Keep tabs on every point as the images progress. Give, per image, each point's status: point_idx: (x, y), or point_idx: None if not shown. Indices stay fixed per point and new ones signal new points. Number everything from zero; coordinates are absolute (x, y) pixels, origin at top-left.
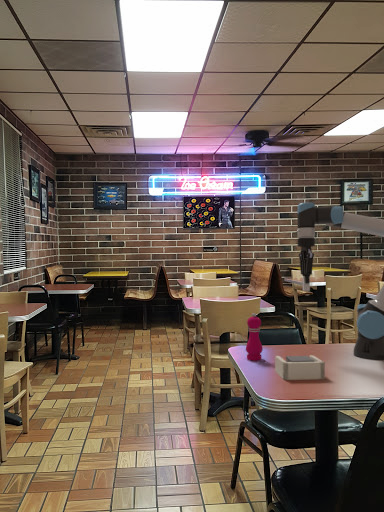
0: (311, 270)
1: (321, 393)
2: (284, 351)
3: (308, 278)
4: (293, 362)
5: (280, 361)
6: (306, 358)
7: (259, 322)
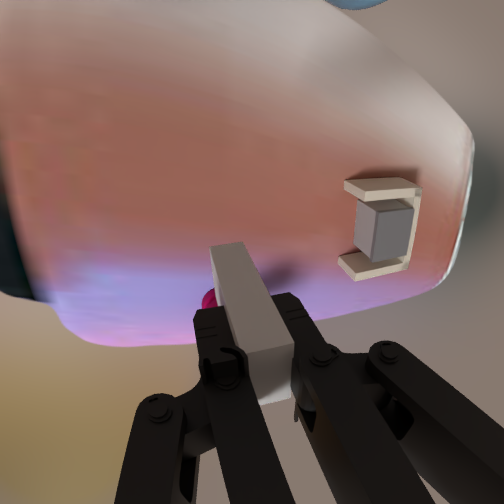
0: (434, 381)
1: (449, 209)
2: (110, 215)
3: (316, 336)
4: (408, 250)
5: (387, 272)
6: (399, 220)
7: None
